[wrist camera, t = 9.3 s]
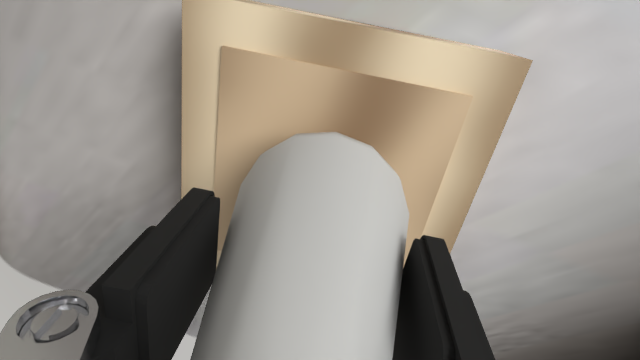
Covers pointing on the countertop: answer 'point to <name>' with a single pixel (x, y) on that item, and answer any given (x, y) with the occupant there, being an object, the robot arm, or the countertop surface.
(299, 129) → the base board
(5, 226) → the countertop surface
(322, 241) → the salt shaker
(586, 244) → the countertop surface
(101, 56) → the countertop surface
